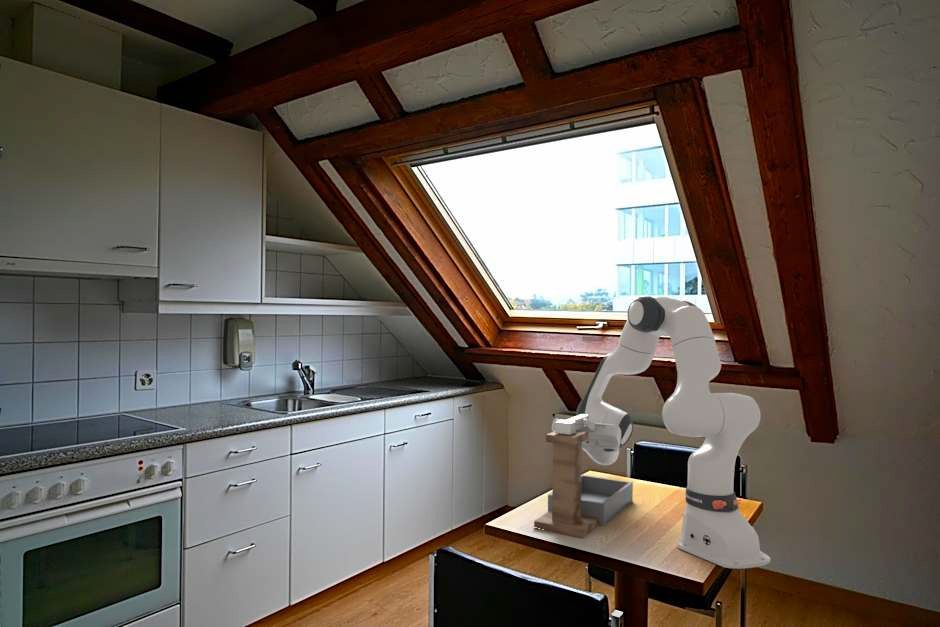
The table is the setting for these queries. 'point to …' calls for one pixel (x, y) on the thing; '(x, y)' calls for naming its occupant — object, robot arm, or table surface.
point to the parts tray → (602, 497)
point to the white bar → (570, 424)
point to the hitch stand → (567, 488)
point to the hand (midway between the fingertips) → (578, 420)
